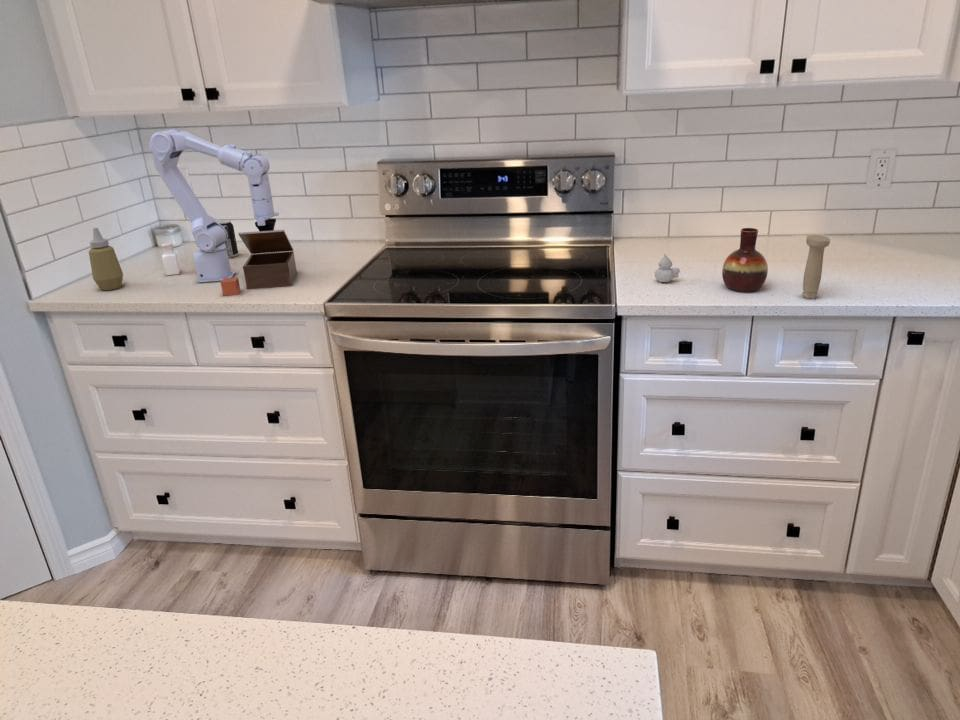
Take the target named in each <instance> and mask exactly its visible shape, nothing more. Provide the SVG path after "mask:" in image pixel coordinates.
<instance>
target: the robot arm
mask: <svg viewBox="0 0 960 720" xmlns="http://www.w3.org/2000/svg"><path fill="white" fill-rule="evenodd" d="M148 148H149V149H150V151H151V153H152V158H153V164H154V168H155V170H156V172H157V174H158V175H159V176H160V178H161V180H162V181H163V183H164V184H165V186H166V187H167V189H168V190H169V192H170V194H171V195H172V196H173V198H174V199H175V201H176V202H177V204H178V206H179V207H180V208H181V210H182V211H183V213H184V214H185V216H186V217H187V219H188V221H189V222H190V223H191V227H190V228H191V229H190V232H191V234H192V236H193V238H194V244H195V245H196V247H197V248H198V249H199V250H194V253H193V261H194V267H195V271H196V275H197V283H208V282H209V283H210V282H211V283H212V282H221V281H222V280H223V279H224V278H234V275H235V274H236V271H232V270H231V264H230V258H228V254H227V249H226V245H225V242H226V240H227V237H228V235H227V231H226V229H225V228H224V227H223V226H221V225H220V224H219V223H218V222H217V221H218V220H217V219H216V218H214V217H213V216H212V215H209V214H208V212H207V211H206V209H205V208H204V206H203V205H202V203H201V201H200V200H199V198H198V197H197V195H196V193H195V192H194V191H193V188H191V186H190V184H189V183H188V182H187V180H186V178H185V177H184V175H183V174H182V172H181V170H180V169H179V167H178V163H179V159H180V156H181V155H182V154H183V152H184V151H188V150H191V151H195V152H197V153H200V154H204V155H207V156H210V157H212V158H215V159H217V160H218V161H219V163H220V164H221V165H222V166H225V167H228V168H231V169H232V170H236V171H239V172H241V173H244V175H245V176H246V177H247V180H248V188H249V193H250V197H251V198H250V199H251V205H252V210H253V218H254V219H255V220H256V221H255V222H254V225H255V227H256V229H257V230H258V231H272V230H275V226H276V222H277V219H276V218H274V217H278V216H279V215H280V213H279V212H277V211H276V212H275V208H274V202H273V196H272V195H273V194H272V190H271V183H270V177H269V170H270V162H269V159H268V158H267V157H265V156H264V155H262V154H261V153H256V154H253V152H252V151H251V150H250V151H245V150H243V149H240V148H237V145H236V144H233V143H232V144H226V145H224V146H220V145H218V144H216V143H213V142H211V141H208V140H206V139H204V138H201V137H200V136H197V135H195V134H193V133H190V132H189V131H186V130H181V129H178V128H170V129H167V130H163V131H156V132H154V133H153V134H152V135H151V137H150V140H149V144H148Z"/></svg>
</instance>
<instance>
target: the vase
mask: <svg viewBox="0 0 960 720" xmlns="http://www.w3.org/2000/svg"><path fill="white" fill-rule="evenodd" d="M758 234H759V229H757V228H754V227H744V228H741V229H740V241H739V248H738V249H736V250H734V251H732V252H731V253H730V254H728V255H727V257H726V258H725V259H724V262H723V264H722V271H721V275H722V280H723V284H724V285H725V287H726V288H727V289H729V290H730V291H734V292H739V293H752V292H756V291H758V290H759V289H761V288H762V287H763V286H764V284H765V282H766V279H767V277H768V272H769V268H768V262H767V260H766V258H765V256H764V255H763V254H762V253H761V252H760V251H758V250H757V249H756V244H757V240H758Z"/></svg>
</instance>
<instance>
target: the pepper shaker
mask: <svg viewBox="0 0 960 720" xmlns="http://www.w3.org/2000/svg"><path fill="white" fill-rule="evenodd" d="M160 246H161V251H162V253H163V254H162V255H161V259H162V263H163V267H164V272H165V275H166V276H175V275H180V273H181V268H180V263H179V258H178V253H177V252H175V251H174V250H175V249H174V244H173V243H172V242H165V243H162V244H160Z"/></svg>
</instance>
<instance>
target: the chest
mask: <svg viewBox="0 0 960 720" xmlns="http://www.w3.org/2000/svg"><path fill="white" fill-rule="evenodd" d="M242 269H243V274H244V280H245V285H246V290H254V289H255V290H256V289H257V290H258V289H267V288H269V289H270V288H280V287H281V288H282V287H292V285H293V283H294V281H295V278H296V276H297V274H298V273H297V272H298V271H297V265H296V258H295V252H294V250H293V251H285V252H271V253H257V254H251V253H250V255H249V257H248V258H247V260H246V261H245V263H244V264H243V265H242Z"/></svg>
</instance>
